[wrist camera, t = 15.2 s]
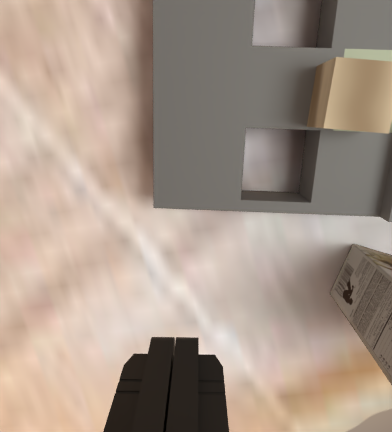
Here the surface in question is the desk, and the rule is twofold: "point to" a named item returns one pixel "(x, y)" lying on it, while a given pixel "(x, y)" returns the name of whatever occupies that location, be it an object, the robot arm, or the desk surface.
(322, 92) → the block
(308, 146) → the plate
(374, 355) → the coffee box
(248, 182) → the desk surface
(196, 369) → the robot arm
